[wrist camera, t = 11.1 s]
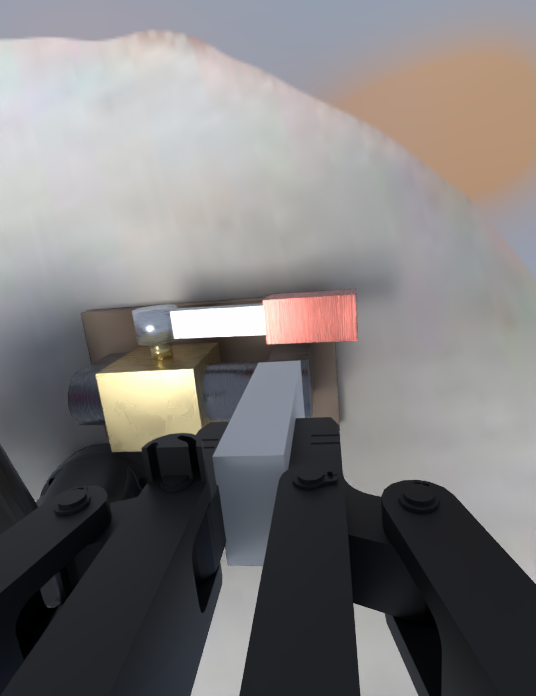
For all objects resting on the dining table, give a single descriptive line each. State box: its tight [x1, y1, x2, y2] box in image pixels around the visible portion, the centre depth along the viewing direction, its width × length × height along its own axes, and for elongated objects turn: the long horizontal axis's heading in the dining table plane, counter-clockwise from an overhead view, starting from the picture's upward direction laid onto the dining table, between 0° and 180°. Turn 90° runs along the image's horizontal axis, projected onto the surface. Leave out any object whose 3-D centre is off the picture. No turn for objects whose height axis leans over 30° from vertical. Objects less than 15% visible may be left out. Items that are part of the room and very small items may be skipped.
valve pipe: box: [68, 342, 314, 452], centre depth 33 cm, size 18×7×8 cm, turn 96°
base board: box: [81, 297, 340, 437], centre depth 38 cm, size 22×12×2 cm, turn 96°
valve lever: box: [132, 289, 358, 346], centre depth 30 cm, size 3×3×16 cm
